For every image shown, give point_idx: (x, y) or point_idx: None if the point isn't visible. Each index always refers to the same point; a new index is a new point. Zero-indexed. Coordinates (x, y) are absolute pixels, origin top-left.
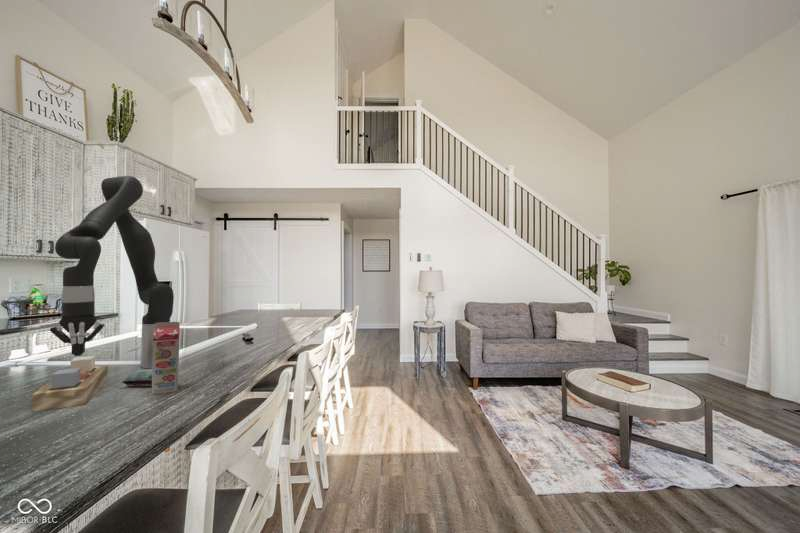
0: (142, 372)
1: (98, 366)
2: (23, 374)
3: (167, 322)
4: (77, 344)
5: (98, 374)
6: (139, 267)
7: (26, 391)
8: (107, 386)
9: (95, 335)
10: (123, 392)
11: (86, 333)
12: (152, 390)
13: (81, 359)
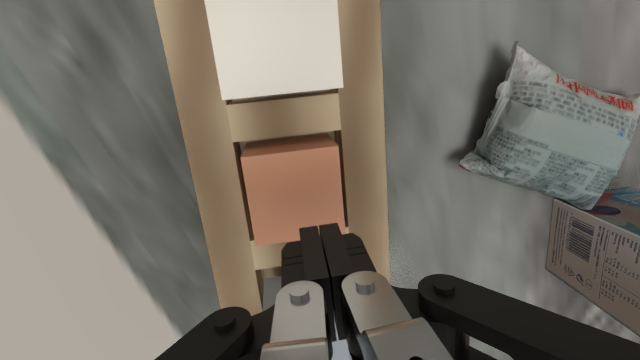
0: (562, 171)
1: None
2: None
3: None
4: (335, 331)
5: (382, 152)
6: None
7: (52, 57)
8: (389, 108)
9: (509, 303)
10: (461, 216)
11: (424, 322)
12: (559, 277)
13: (279, 72)
